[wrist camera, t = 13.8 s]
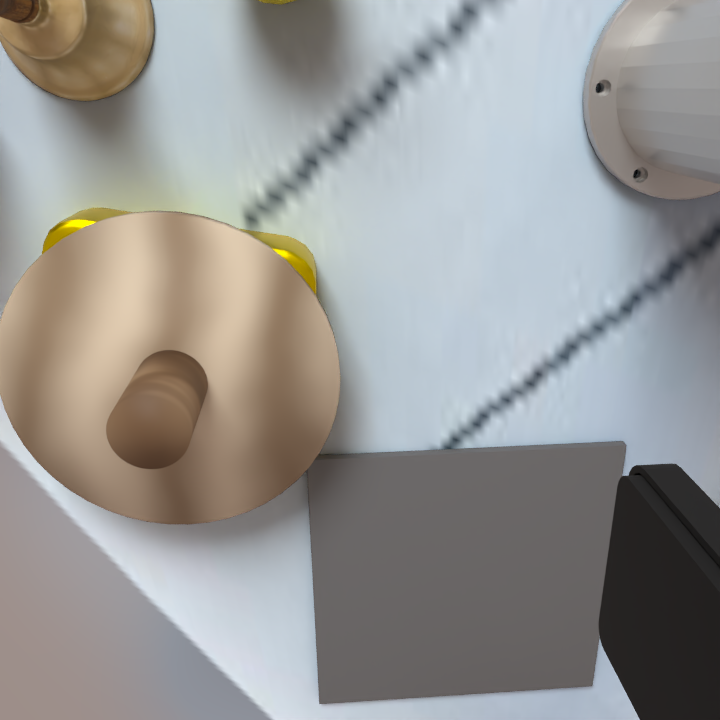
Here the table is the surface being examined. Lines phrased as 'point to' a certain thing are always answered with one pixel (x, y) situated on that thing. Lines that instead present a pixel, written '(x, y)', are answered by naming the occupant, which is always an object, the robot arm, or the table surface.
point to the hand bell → (78, 43)
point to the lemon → (276, 1)
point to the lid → (168, 367)
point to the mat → (460, 568)
